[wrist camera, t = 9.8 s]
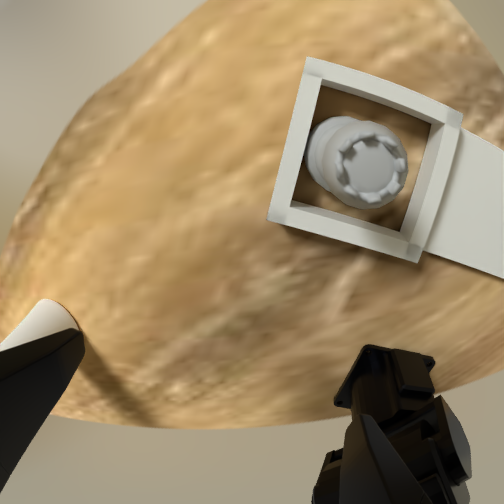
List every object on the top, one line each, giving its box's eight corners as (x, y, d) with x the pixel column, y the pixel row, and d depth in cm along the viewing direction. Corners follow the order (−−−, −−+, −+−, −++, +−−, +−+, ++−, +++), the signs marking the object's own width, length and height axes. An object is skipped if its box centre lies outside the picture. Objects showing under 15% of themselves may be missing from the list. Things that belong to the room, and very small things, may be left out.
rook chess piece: (337, 207, 18) (361, 257, 11) (287, 149, 17) (276, 159, 10) (394, 160, 17) (453, 181, 9) (344, 100, 16) (376, 75, 8)
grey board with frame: (520, 290, 18) (545, 313, 14) (269, 211, 19) (262, 229, 15) (558, 182, 14) (589, 194, 11) (306, 64, 15) (307, 47, 12)
